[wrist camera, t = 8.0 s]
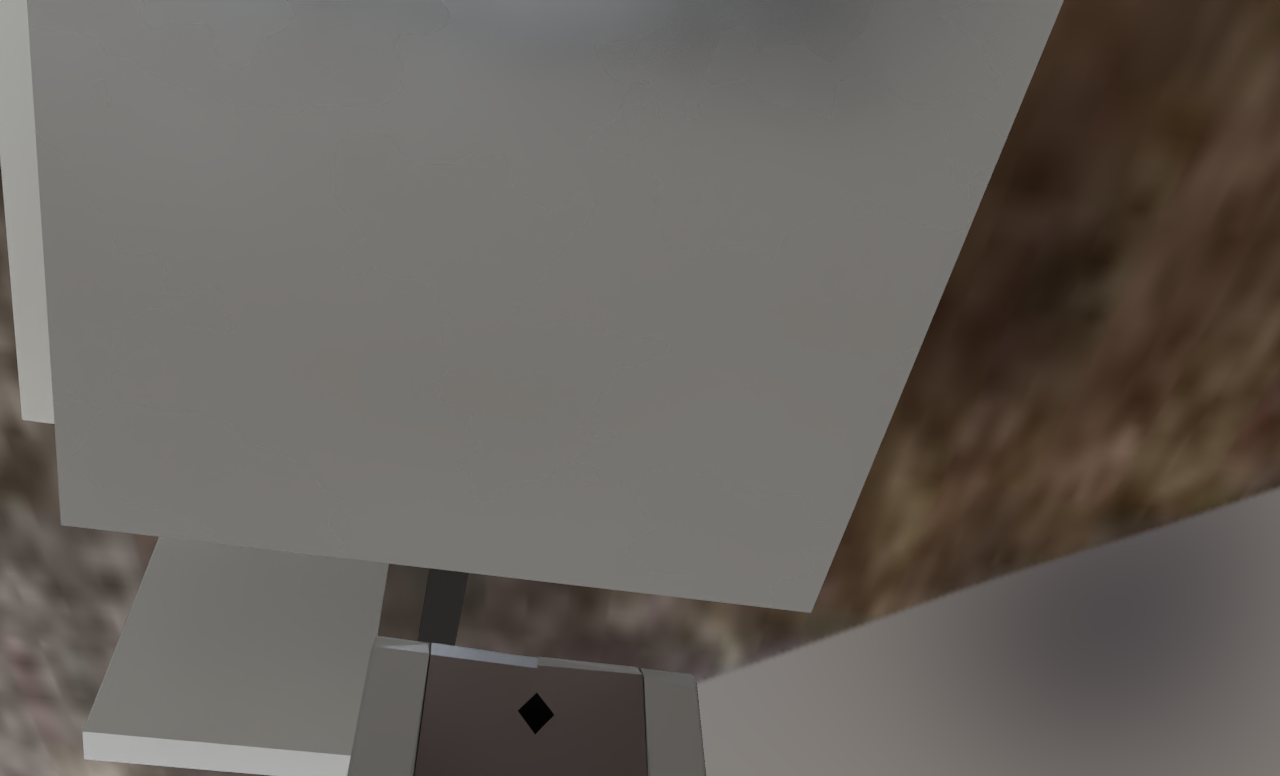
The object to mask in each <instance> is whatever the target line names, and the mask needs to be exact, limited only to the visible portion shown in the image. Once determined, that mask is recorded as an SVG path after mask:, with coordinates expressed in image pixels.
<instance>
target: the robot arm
mask: <svg viewBox="0 0 1280 776" xmlns="http://www.w3.org/2000/svg"><path fill="white" fill-rule="evenodd" d="M429 652H430V654H429ZM347 776H706V770H705V760H704V750H703V740H702V730H701V720H700V710H699V700H698V690H697V683H696V681H695V679H694V678H693V676H692V674H686V673H677V672H669V671H660V670H651V669H643V668H641V669H639V670H638V668H637V667H630V666H621V665H611V664H602V663H593V662H584V661H574V660H565V659H556V658H546V657H537V656H535V658H534V657H527V656H520V655H513V654H506V653H499V652H492V651H486V650H479V649H472V648H465V647H458V646H451V645H444V644H437V643H432V644H431V648H430V643H425V642H418V641H411V640H404V639H397V638H390V637H383V636H376V637H375V640H374V642H373V645H372V648H371V652H370V657H369V662H368V667H367V673H366V678H365V683H364V689H363V694H362V699H361V704H360V710H359V715H358V720H357V726H356V731H355V736H354V741H353V747H352V752H351V757H350V763H349V768H348V773H347Z"/></svg>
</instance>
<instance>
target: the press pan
mask: <svg viewBox="0 0 1280 776" xmlns="http://www.w3.org/2000/svg"><path fill="white" fill-rule="evenodd" d="M1063 1H1064V0H27V10H28V25H29V41H30V56H31V71H32V87H33V102H34V117H35V133H36V148H37V163H38V179H39V194H40V209H41V225H42V240H43V255H44V271H45V286H46V301H47V317H48V332H49V347H50V363H51V378H52V393H53V409H54V424H55V439H56V455H57V470H58V485H59V501H60V516H61V525H64V526H73V527H81V528H90V529H99V530H107V531H116V532H124V533H133V534H141V535H150V536H158V537H167V538H176V539H184V540H193V541H201V542H210V543H218V544H227V545H235V546H244V547H252V548H261V549H270V550H278V551H287V552H295V553H304V554H312V555H321V556H329V557H338V558H346V559H355V560H364V561H372V562H381V563H389V564H398V565H406V566H415V567H423V568H430V569H429V575H428V581H427V587H426V593H425V599H424V605H423V612H422V618H421V624H420V630H419V636H418V642H425V643H430V648H431V644H432V643H437V644H444V645H451V646H455V641H456V636H457V630H458V625H459V620H460V614H461V609H462V604H463V598H464V593H465V588H466V582H467V577H468V573H475V574H483V575H492V576H500V577H509V578H517V579H526V580H535V581H543V582H552V583H560V584H569V585H577V586H586V587H594V588H603V589H612V590H620V591H629V592H637V593H646V594H654V595H663V596H671V597H680V598H688V599H697V600H706V601H714V602H723V603H731V604H740V605H748V606H757V607H765V608H774V609H782V610H791V611H800V612H808V613H811V611H812V609H813V607H814V604H815V602H816V599H817V597H818V595H819V592H820V590H821V587H822V585H823V582H824V580H825V578H826V575H827V573H828V570H829V568H830V565H831V563H832V561H833V558H834V556H835V553H836V551H837V548H838V546H839V544H840V541H841V539H842V536H843V534H844V532H845V529H846V527H847V524H848V522H849V519H850V517H851V515H852V512H853V510H854V507H855V505H856V502H857V500H858V498H859V495H860V493H861V490H862V488H863V486H864V483H865V481H866V478H867V476H868V473H869V471H870V469H871V466H872V464H873V461H874V459H875V456H876V454H877V452H878V449H879V447H880V444H881V442H882V440H883V437H884V435H885V432H886V430H887V427H888V425H889V423H890V420H891V418H892V415H893V413H894V410H895V408H896V406H897V403H898V401H899V398H900V396H901V394H902V391H903V389H904V386H905V384H906V381H907V379H908V377H909V374H910V372H911V369H912V367H913V364H914V362H915V360H916V357H917V355H918V352H919V350H920V347H921V345H922V343H923V340H924V338H925V335H926V333H927V331H928V328H929V326H930V323H931V321H932V318H933V316H934V314H935V311H936V309H937V306H938V304H939V301H940V299H941V297H942V294H943V292H944V289H945V287H946V285H947V282H948V280H949V277H950V275H951V272H952V270H953V268H954V265H955V263H956V260H957V258H958V255H959V253H960V251H961V248H962V246H963V243H964V241H965V239H966V236H967V234H968V231H969V229H970V226H971V224H972V222H973V219H974V217H975V214H976V212H977V209H978V207H979V205H980V202H981V200H982V197H983V195H984V192H985V190H986V188H987V185H988V183H989V180H990V178H991V176H992V173H993V171H994V168H995V166H996V163H997V161H998V159H999V156H1000V154H1001V151H1002V149H1003V146H1004V144H1005V142H1006V139H1007V137H1008V134H1009V132H1010V130H1011V127H1012V125H1013V122H1014V120H1015V117H1016V115H1017V113H1018V110H1019V108H1020V105H1021V103H1022V100H1023V98H1024V96H1025V93H1026V91H1027V88H1028V86H1029V84H1030V81H1031V79H1032V76H1033V74H1034V71H1035V69H1036V67H1037V64H1038V62H1039V59H1040V57H1041V54H1042V52H1043V50H1044V47H1045V45H1046V42H1047V40H1048V38H1049V35H1050V33H1051V30H1052V28H1053V25H1054V23H1055V21H1056V18H1057V16H1058V13H1059V11H1060V8H1061V6H1062V4H1063ZM429 654H430V652H429Z"/></svg>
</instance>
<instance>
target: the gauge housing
mask: <svg viewBox="0 0 1280 776" xmlns="http://www.w3.org/2000/svg"><path fill="white" fill-rule="evenodd" d="M0 161H1V173H2V185H3V197H4V209H5V221H6V233H7V245H8V257H9V269H10V280H11V292H12V304H13V316H14V328H15V340H16V352H17V364H18V376H19V388H20V400H21V412H22V420H28V421H35V422H43V423H51V424H54V409H53V393H52V378H51V363H50V347H49V332H48V317H47V301H46V286H45V271H44V255H43V240H42V225H41V209H40V194H39V179H38V163H37V148H36V133H35V117H34V102H33V87H32V71H31V56H30V41H29V25H28V10H27V0H0ZM388 567H389V563H381V562H372V561H364V560H355V559H346V558H338V557H329V556H321V555H312V554H304V553H295V552H287V551H278V550H270V549H261V548H252V547H244V546H235V545H227V544H218V543H210V542H201V541H193V540H184V539H176V538H167V537H159V538H158V541H157V543H156V546H155V548H154V551H153V554H152V556H151V559H150V561H149V564H148V566H147V569H146V571H145V574H144V576H143V579H142V582H141V584H140V587H139V589H138V592H137V594H136V597H135V599H134V602H133V604H132V607H131V610H130V612H129V615H128V617H127V620H126V622H125V625H124V627H123V630H122V633H121V635H120V638H119V640H118V643H117V645H116V648H115V650H114V653H113V655H112V658H111V661H110V663H109V666H108V668H107V671H106V673H105V676H104V678H103V681H102V683H101V686H100V689H99V691H98V694H97V696H96V699H95V701H94V704H93V706H92V709H91V712H90V714H89V717H88V719H87V722H86V724H85V727H84V729H83V746H84V759H88V760H99V761H111V762H122V763H134V764H145V765H157V766H169V767H180V768H192V769H203V770H215V771H226V772H238V773H249V774H261V775H273V776H347V773H348V768H349V763H350V757H351V752H352V747H353V741H354V736H355V731H356V726H357V720H358V715H359V710H360V704H361V699H362V694H363V689H364V683H365V678H366V673H367V667H368V662H369V657H370V652H371V648H372V645H373V642H374V640H375V637H376V636H378V630H379V623H380V617H381V611H382V605H383V598H384V592H385V586H386V580H387V573H388Z"/></svg>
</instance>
